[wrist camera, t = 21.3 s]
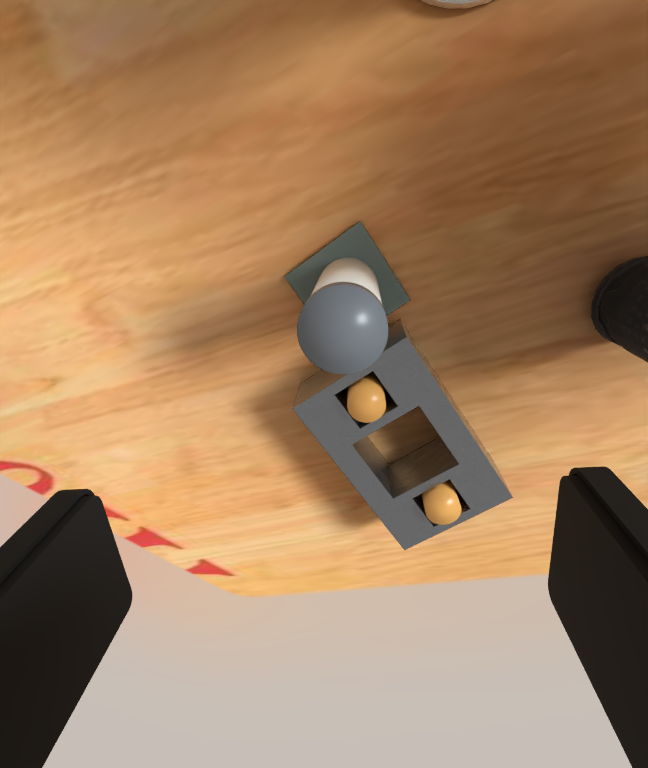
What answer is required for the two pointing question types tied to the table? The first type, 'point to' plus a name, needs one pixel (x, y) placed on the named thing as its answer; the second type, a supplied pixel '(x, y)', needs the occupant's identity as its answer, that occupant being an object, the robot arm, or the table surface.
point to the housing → (416, 470)
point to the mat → (353, 246)
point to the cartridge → (344, 319)
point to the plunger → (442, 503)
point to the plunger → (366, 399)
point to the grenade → (624, 307)
